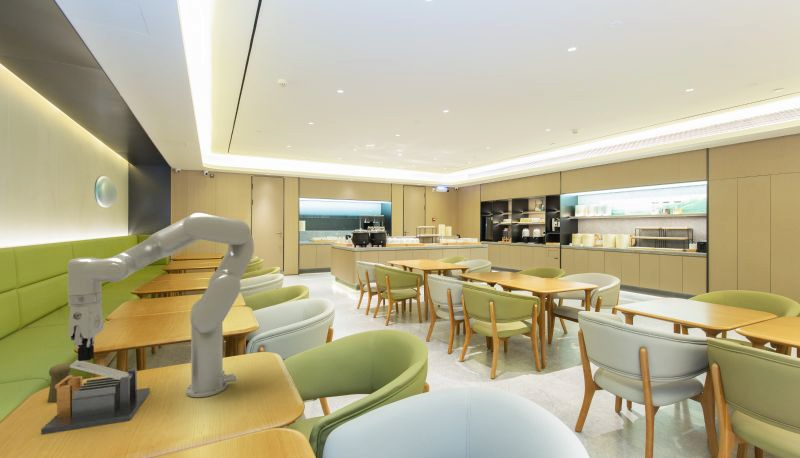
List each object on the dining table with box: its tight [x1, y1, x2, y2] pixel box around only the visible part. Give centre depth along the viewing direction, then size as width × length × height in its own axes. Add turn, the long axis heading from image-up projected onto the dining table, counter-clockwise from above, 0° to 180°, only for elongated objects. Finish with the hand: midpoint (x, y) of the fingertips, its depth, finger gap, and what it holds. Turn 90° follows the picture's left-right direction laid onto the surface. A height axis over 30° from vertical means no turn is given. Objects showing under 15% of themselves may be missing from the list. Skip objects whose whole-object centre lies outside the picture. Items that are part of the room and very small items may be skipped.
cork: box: [47, 363, 72, 404], centre depth 115 cm, size 6×6×11 cm
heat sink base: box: [40, 368, 151, 436], centre depth 107 cm, size 20×18×11 cm
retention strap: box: [69, 359, 133, 380], centre depth 107 cm, size 16×4×1 cm, turn 111°
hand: (86, 359), depth 106 cm, fingers closed
